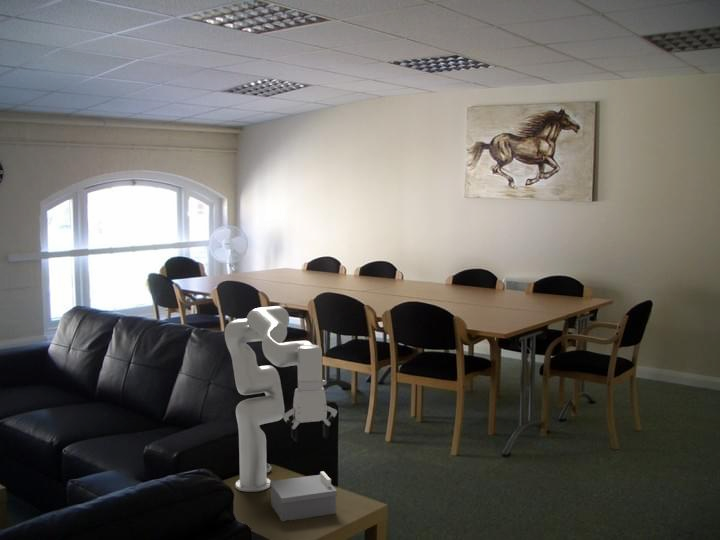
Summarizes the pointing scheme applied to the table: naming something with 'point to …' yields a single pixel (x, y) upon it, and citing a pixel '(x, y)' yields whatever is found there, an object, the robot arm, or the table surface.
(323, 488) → the lid
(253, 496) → the table surface
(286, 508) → the base
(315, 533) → the table surface
